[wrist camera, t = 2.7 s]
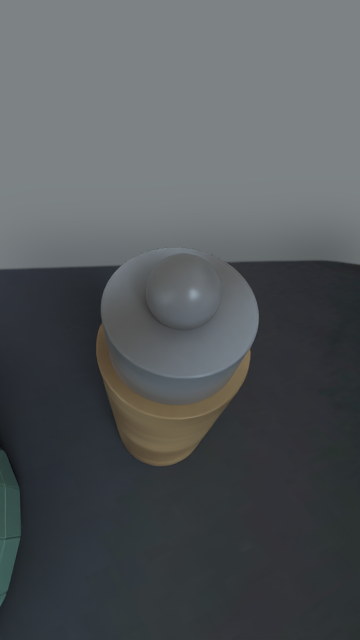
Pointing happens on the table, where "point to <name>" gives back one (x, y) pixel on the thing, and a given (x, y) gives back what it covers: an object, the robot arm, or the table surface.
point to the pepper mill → (173, 348)
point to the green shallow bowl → (8, 522)
